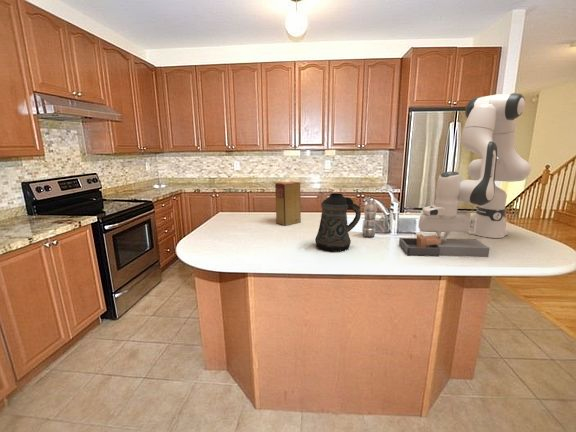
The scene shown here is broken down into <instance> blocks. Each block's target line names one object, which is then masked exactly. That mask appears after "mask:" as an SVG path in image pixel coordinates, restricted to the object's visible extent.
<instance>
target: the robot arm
mask: <svg viewBox="0 0 576 432" xmlns="http://www.w3.org/2000/svg"><path fill="white" fill-rule="evenodd" d="M525 106H526V101H525V97H524V96H523V95H522V93H515V92H513V93H512V92H511V93H497V94H492V95H486V96H477V97H474V98H471V99H470V100H469V101H468V102H467V103H466V106H465V110H464V111H465V112H464V115H465V118H466V121H465V124H464V126H463V129H462V133H461V137H460V139H461V140H460V142H461V145H462V146H463V147H464V148H465V149H466V150H468V151H470V152H471V153H474V154H475V155H478V156H479V157H480V158H478V159H473V160H472V161H471V162H470V163H469V165H468V167H467V173H468V175H469V177H470V178H471V179H467V178H463V177H461V174H460V172H457V171H444V172H442V173H440V174H439V176H438V179H437V183H436V188H435V195H436V198H435V200H434V204H432V205H428V206H425V207H422V210H421V211H422V213H421V214H420V217H419V220H418V229H419V230H420V231H422V232H435V233H436V236H437V237H439V238H440V239H441V241H446V239H448V237H449V235H451V232H452V233H453V232H454V233H455V232H458V233H459V232H461V233H467V234H468V235H472V236H479V237H483V238H491V239H492V238H493V239H494V238H495V239H499V238H501V239H502V238H504V237H505V236H508V232H507V231H506V230H507V219H506V218H505V216H506V212H507V211H506V203H507V197H508V194H507V192H506V191H505V190H504V189H502V188H500V187H498V186H497V185H496V182H506V183H511V182H512V183H513V182H523V181H525V180H526V179H527V178H528V177H529V176H530V173H531V165H530V163H529V162H528V161H527V160H526V159H524V158H523V157H521V156H520V155H519V153H518V152H517V150H516V148H515V129H516V119H518V118H519V117H520V116H521V115H522V114H523V111H524V109H525ZM459 202H464V203H467V204H468V203H469V204H472V205H477V207H476V211H475V213H474V214H472V216H471V212H470V211H468V210H465V209H464V210H462V209H460V210H459V209H458V208H459ZM442 232H444V235H441V234H442Z"/></svg>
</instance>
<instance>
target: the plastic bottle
mask: <svg viewBox="0 0 576 432" xmlns="http://www.w3.org/2000/svg"><path fill="white" fill-rule="evenodd" d="M366 202H367V203H365V206H364V208H363V214H364V224H363V229H362V235H363V236H364V237H375V235H376V234H377V233H376V231H377V230H376V229H377V228H376V216H377V211H378V207H377V206H376V203H375V202H376V200H375V198H374V197H367V199H366Z"/></svg>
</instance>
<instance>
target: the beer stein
mask: <svg viewBox="0 0 576 432" xmlns="http://www.w3.org/2000/svg"><path fill="white" fill-rule="evenodd" d="M320 204H321V208H322V211H321V216H320V221H319V227H318V231H317V232H316V233H317V234H316V237H315V247H316V249H318V250H319V251H323V252H327V253H328V252H329V253H342V251H343V252H346V251H348V250H349V249H350V246H351V242H352V240H351V237H350V235H349V233H350V232H351V231H352V230H353V229H354V228H355V227H356V225H357V224H358V223H359V222H360V219H361V215H362V213H361V207H360V206H359V205H357V204H356V203H354V200H353V199H352V198H351V197H349V196H348V197H347V196H344V195H343V194H342V193H336V192H335V193H334V192H333V193H330V195H329V196H328V197H327V198H325V199H324V200H323V201H322V202H321V203H320ZM347 211H354V212H355V216H354V219H352V221H351V222H350V223H349V224H348V217H347V215H348V214H347ZM345 250H346V251H345Z"/></svg>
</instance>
